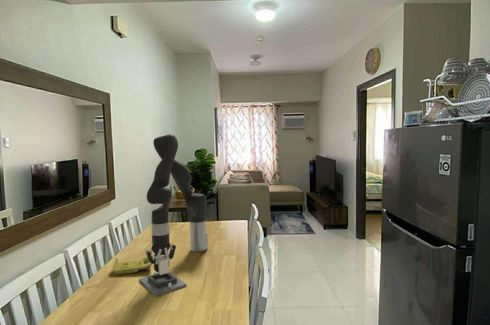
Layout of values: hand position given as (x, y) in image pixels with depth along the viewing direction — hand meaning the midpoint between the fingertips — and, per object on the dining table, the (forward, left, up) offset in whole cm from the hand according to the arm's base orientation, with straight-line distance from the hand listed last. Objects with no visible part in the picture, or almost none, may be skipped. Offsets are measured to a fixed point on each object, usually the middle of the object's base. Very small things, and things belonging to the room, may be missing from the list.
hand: (161, 269), depth 135 cm
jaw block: (0, 0, -1) cm, 1 cm away
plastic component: (+4, -24, -7) cm, 25 cm away
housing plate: (0, 0, -6) cm, 6 cm away
